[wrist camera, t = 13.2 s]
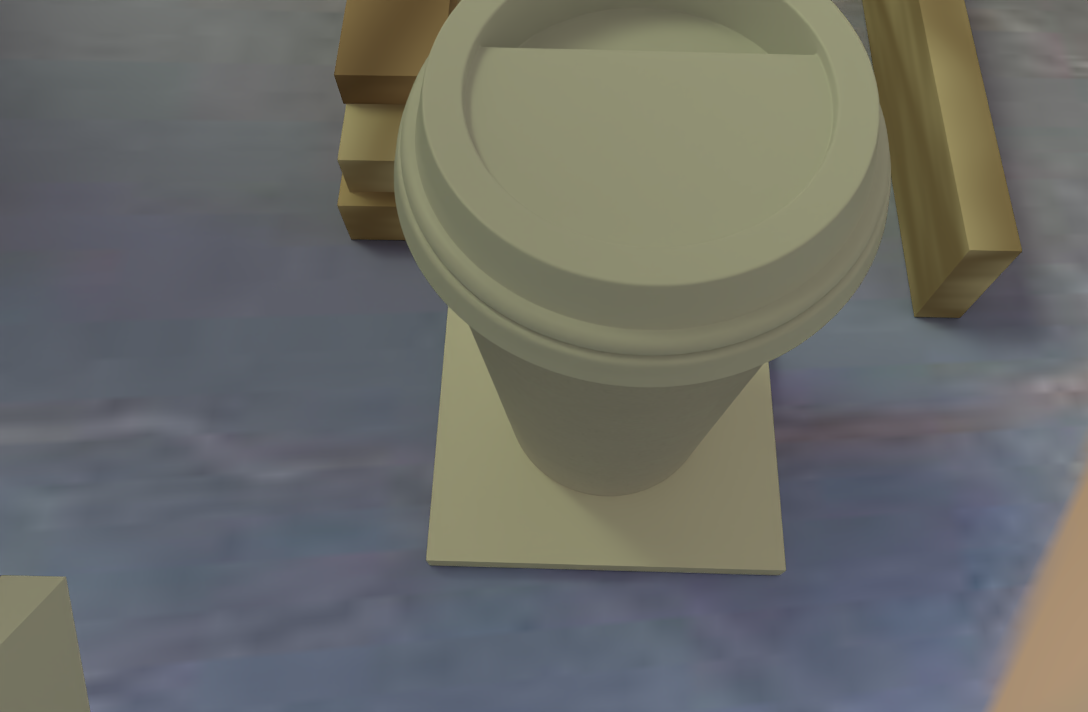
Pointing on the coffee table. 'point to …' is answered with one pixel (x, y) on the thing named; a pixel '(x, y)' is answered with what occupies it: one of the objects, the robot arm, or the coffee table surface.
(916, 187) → the frame
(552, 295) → the coffee cup
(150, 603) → the coffee table surface
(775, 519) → the ceramic tile
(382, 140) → the offcut stack
